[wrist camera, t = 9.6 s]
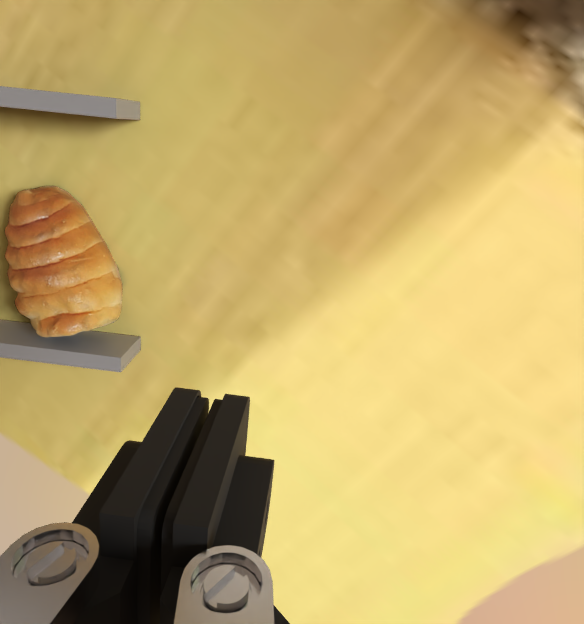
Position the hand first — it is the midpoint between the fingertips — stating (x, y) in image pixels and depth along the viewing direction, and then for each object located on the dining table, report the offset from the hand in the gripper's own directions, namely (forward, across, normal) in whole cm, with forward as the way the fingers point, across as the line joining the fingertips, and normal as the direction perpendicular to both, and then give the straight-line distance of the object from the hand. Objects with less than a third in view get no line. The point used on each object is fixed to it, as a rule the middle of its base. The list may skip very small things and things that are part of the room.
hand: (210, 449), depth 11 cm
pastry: (+22, +14, +4) cm, 27 cm away
